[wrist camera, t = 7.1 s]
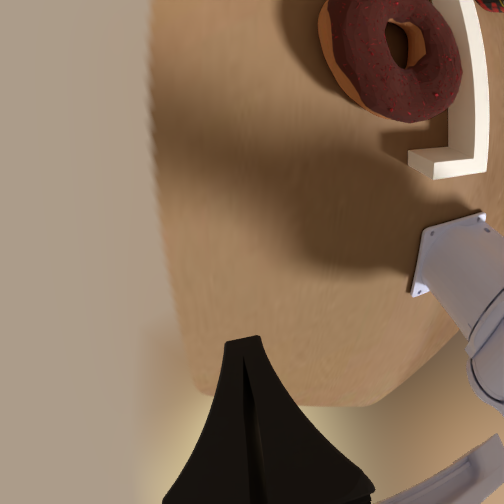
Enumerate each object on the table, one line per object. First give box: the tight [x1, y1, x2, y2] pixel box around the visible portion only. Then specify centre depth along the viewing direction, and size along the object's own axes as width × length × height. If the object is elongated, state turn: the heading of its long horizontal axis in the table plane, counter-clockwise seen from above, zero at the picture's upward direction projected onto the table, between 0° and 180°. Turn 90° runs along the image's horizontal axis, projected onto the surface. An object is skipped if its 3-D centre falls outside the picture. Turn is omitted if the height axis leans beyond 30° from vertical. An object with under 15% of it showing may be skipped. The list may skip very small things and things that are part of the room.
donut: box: [318, 0, 463, 123], centre depth 11 cm, size 10×10×4 cm
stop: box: [408, 0, 489, 180], centre depth 11 cm, size 6×16×3 cm, turn 11°
